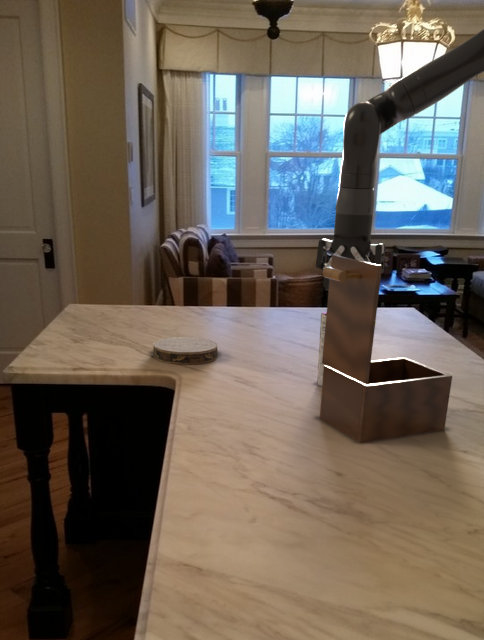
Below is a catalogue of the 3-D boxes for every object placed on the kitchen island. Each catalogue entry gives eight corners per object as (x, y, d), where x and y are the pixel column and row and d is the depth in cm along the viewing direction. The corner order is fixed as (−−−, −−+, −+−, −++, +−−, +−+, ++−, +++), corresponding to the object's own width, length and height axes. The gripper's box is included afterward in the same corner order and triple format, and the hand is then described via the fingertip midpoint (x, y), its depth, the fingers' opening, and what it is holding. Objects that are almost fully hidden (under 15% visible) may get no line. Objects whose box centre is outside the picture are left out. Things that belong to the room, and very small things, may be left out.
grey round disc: (156, 365, 167) (156, 353, 165) (150, 348, 181) (150, 337, 180) (222, 363, 170) (223, 351, 169) (211, 347, 184) (211, 336, 183)
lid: (335, 254, 123) (310, 255, 121) (382, 265, 111) (355, 265, 109) (325, 363, 130) (301, 364, 128) (368, 383, 118) (342, 385, 116)
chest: (398, 409, 141) (405, 357, 137) (444, 432, 130) (452, 375, 126) (319, 420, 134) (323, 365, 130) (359, 445, 122) (366, 386, 118)
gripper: (394, 213, 143) (385, 293, 149) (329, 209, 149) (323, 286, 155) (381, 214, 137) (372, 298, 143) (314, 210, 143) (308, 290, 149)
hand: (346, 292), depth 149 cm, fingers open, 8 cm apart
